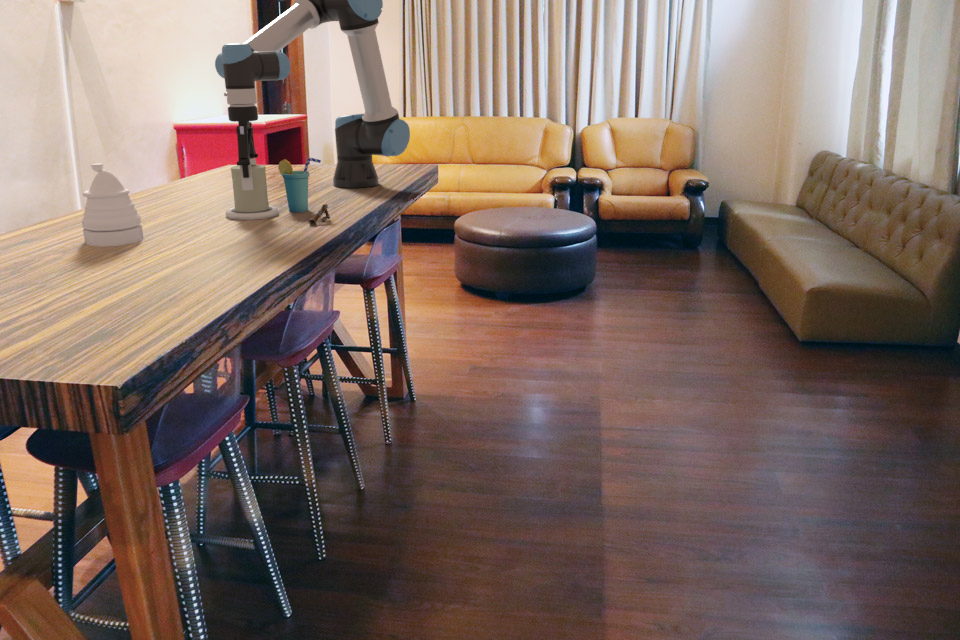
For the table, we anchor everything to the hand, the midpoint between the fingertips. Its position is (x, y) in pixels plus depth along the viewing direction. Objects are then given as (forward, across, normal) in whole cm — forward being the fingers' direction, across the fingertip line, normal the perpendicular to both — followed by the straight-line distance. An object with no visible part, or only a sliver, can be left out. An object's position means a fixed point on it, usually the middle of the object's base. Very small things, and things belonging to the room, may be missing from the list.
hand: (250, 186), depth 220 cm
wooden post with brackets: (+8, +14, +18) cm, 25 cm away
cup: (+8, -4, +13) cm, 16 cm away
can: (+7, 0, 0) cm, 7 cm away
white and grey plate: (+8, 0, 0) cm, 8 cm away
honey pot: (+8, +27, -30) cm, 41 cm away
